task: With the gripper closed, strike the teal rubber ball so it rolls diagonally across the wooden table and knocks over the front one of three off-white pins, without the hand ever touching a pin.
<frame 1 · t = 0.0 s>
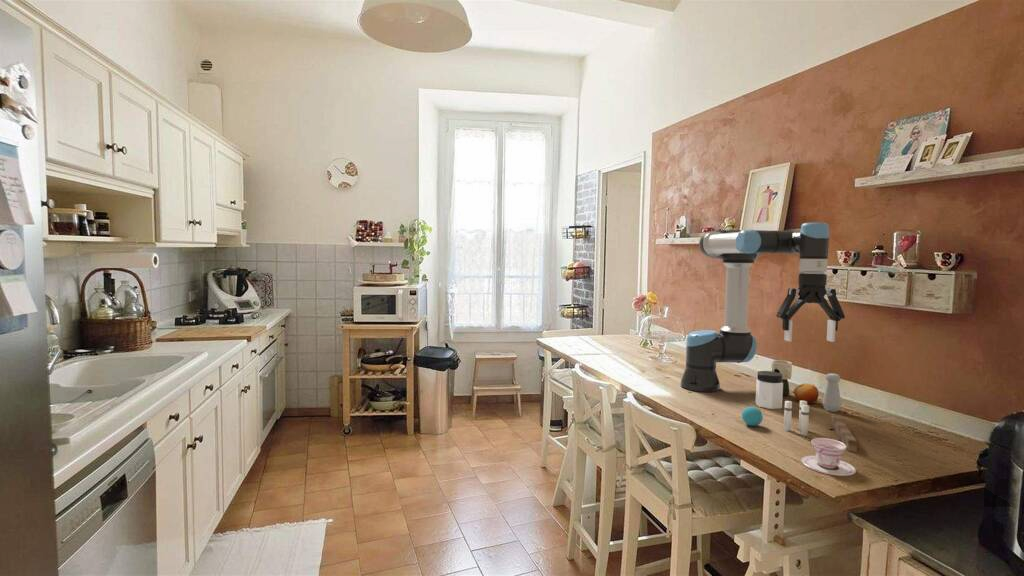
hand: (809, 341, 156), 28 cm above the table, tool pointing down, fingers open, 13 cm apart
fruit: (805, 402, 188), on the table
teal ball: (752, 416, 161), on the table
left pin: (802, 429, 158), on the table
salt shaker: (831, 410, 178), on the table
teacup: (827, 467, 130), on the table
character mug: (780, 394, 198), on the table
jar: (768, 406, 183), on the table
right pin: (803, 434, 153), on the table
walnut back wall: (843, 437, 151), on the table
front pin: (787, 429, 157), on the table
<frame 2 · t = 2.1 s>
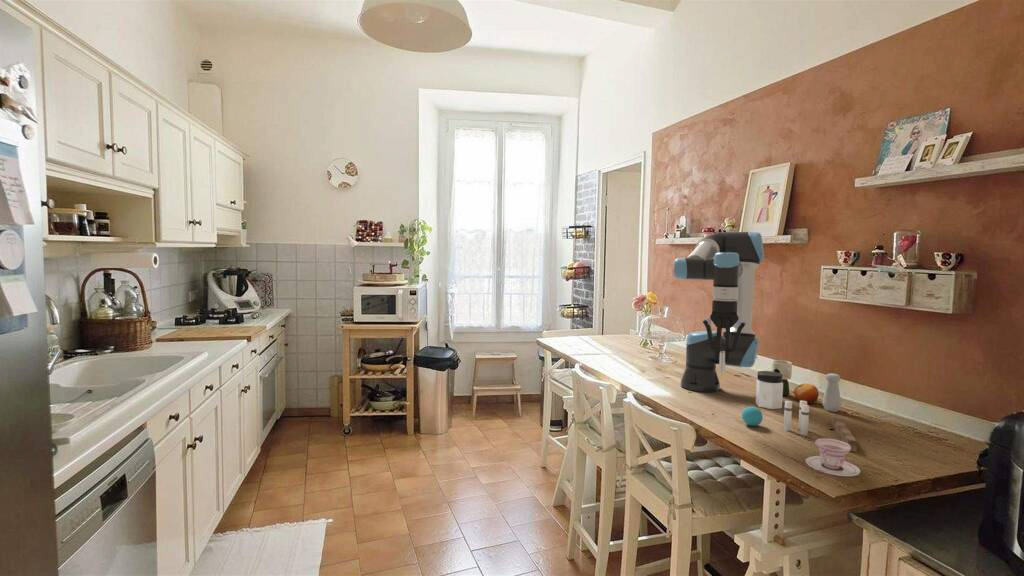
hand: (722, 371, 164), 16 cm above the table, tool pointing down, fingers closed
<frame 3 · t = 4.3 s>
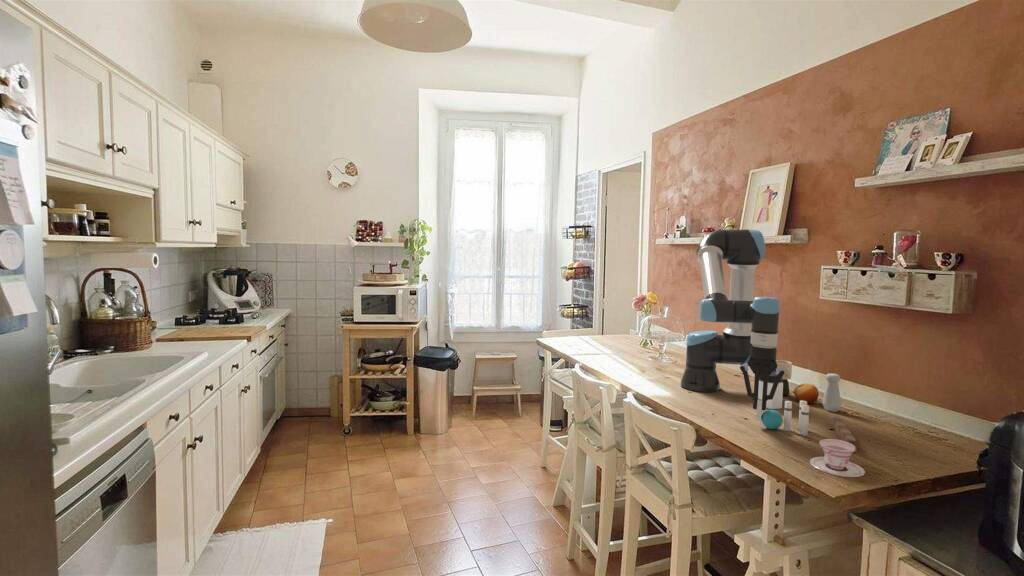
hand: (758, 419, 159), 2 cm above the table, tool pointing down, fingers closed
teal ball: (771, 419, 158), on the table, touching gripper
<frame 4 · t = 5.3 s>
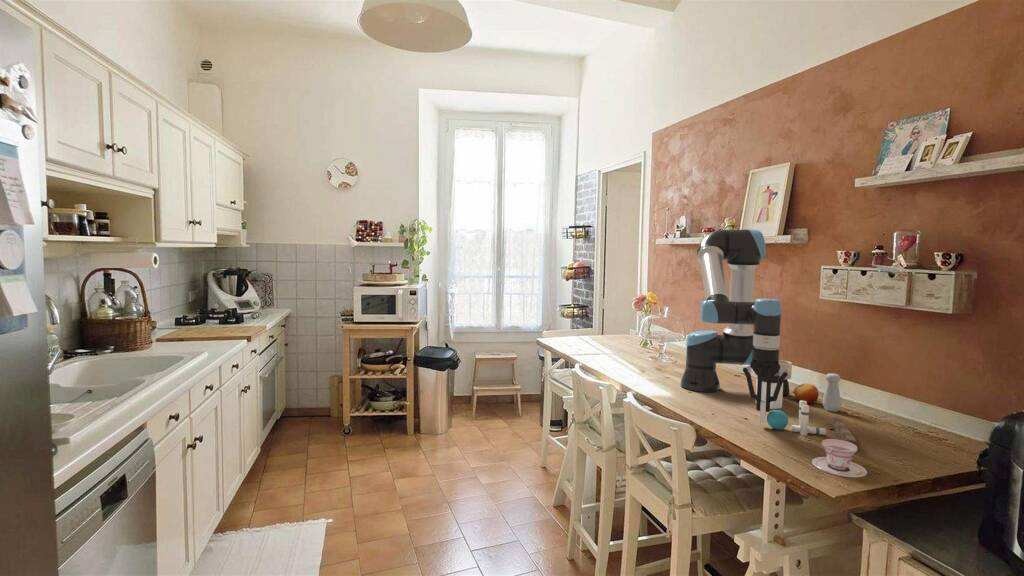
hand: (762, 421, 160), 2 cm above the table, tool pointing down, fingers closed
teal ball: (777, 419, 158), on the table
front pin: (792, 428, 156), point 1 cm above the table, tilted 90°
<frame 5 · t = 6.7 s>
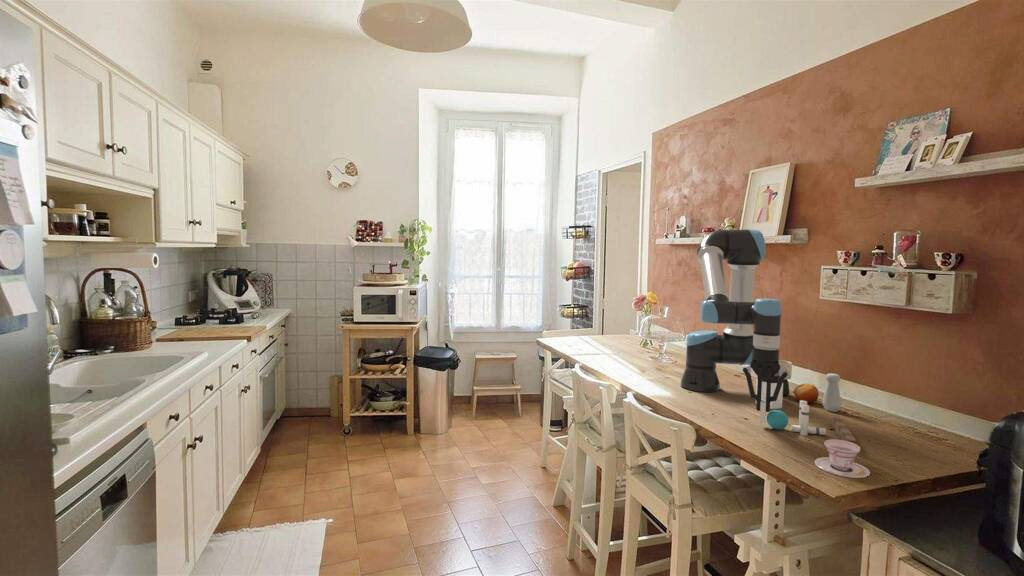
hand: (762, 421, 160), 2 cm above the table, tool pointing down, fingers closed
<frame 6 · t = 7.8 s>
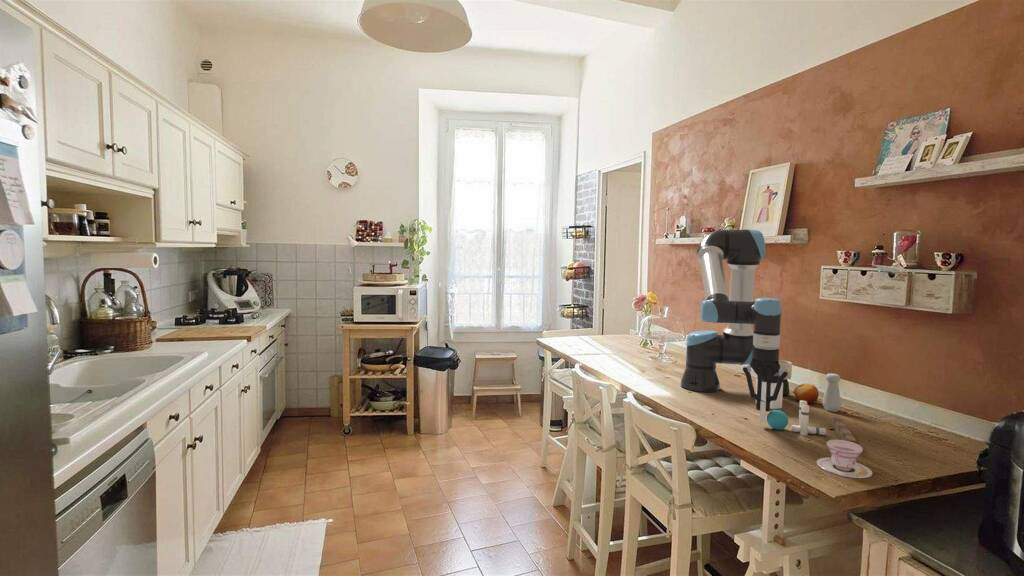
hand: (762, 420, 160), 2 cm above the table, tool pointing down, fingers closed
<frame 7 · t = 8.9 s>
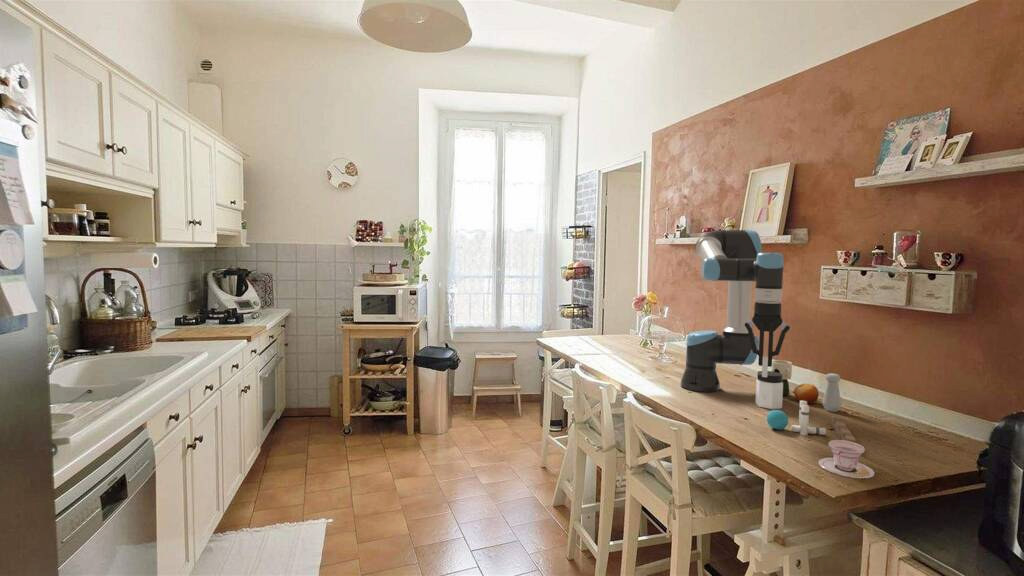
hand: (764, 376, 159), 16 cm above the table, tool pointing down, fingers closed
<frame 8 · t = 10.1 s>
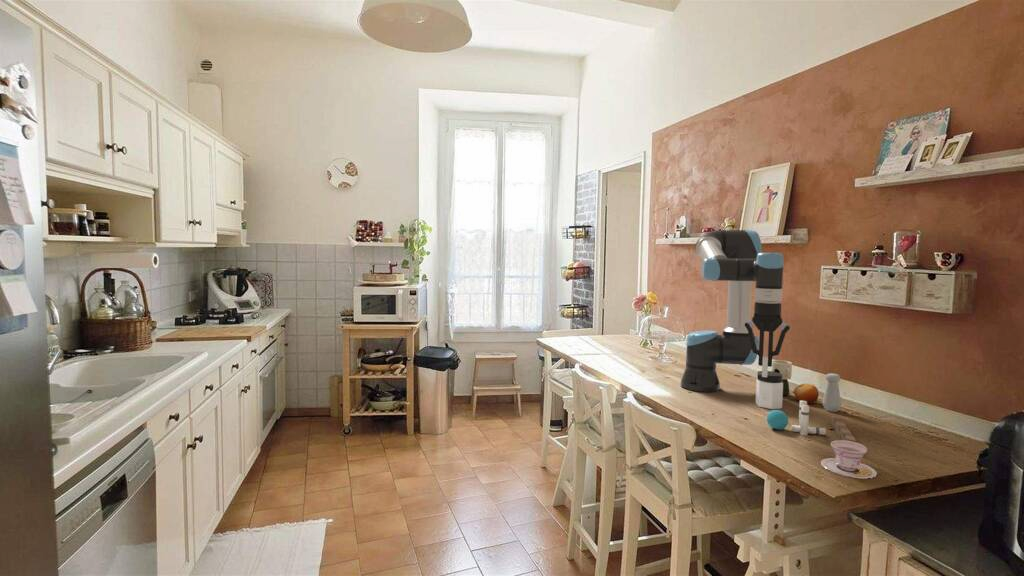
hand: (764, 376, 159), 16 cm above the table, tool pointing down, fingers closed
at the end: front pin tilted 90°; front pin never touched the robot; teal ball moved 7.2 cm from its start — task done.
